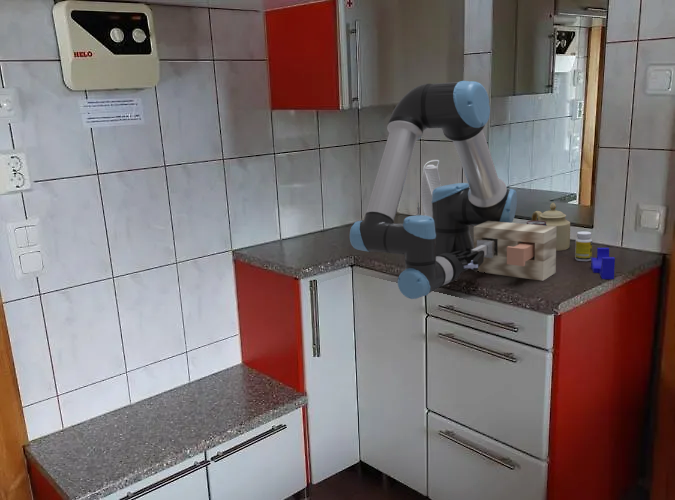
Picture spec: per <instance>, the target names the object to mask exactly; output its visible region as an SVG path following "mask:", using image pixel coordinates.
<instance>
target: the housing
mask: <svg viewBox="0 0 675 500" xmlns="http://www.w3.org/2000/svg"><path fill="white" fill-rule="evenodd" d="M556 229H557V227H556V226H544V225H532V224H527V223H518V222H512V223H508V222H496V221H486V222H484V223H481V224H479V225H476V226H475V225H473V244H474V248H476V247H477V240H478V239H480V240H485V239H487V238H492V239H498V252H497V253H495V254H494V258H487V257H484V262H483V263H482V264H481V265H480V266H479V267H478V271H479V273H484V272H485V273H486V274H492V275H498V276H507V277H513V278H520V279H529V280H535V281H542V282H544V281H545V280H547V279H548V278H549V277H552V275H555V274H556V269H557V267H556V266H557V251H556ZM523 242H531V243H535V256H534V257H533V258H531V259H529V260H527V261H526V262H525V266H518V265H510V264H507V247H508V246H511V247H515V246H517V245H519V244H521V243H523ZM485 273H484V274H485Z"/></svg>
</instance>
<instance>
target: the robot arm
mask: <svg viewBox="0 0 675 500" xmlns="http://www.w3.org/2000/svg"><path fill="white" fill-rule="evenodd" d="M490 115H491V106H490V98H489V94H488V92H487V90H486V88H485V87H484V85H483V84H482V83H480V82H479V81H471V80H469V81H468V80H461V81H453V82H438V83H437V82H436V83H424V84H420V85H417V86H416V87H413V88H412V89H411V90H409V91H408V92H407V93H406V94H405V95H403V97H402V98H401V99H400V100H399V102H397V104H396V106H395V108H394V109H393V111H392V113H391V115H390V117H389V121H388V123H387V128H386V130H387V132H388V136H387V140H386V143H385V146H384V151H383V153H382V157H381V160H380V164H379V166H378V171H377V174H376V178H375V181H374V184H373V188H372V191H371V193H370V194H371V195H370V197H369V201H368V205H367V209H366V211H365V215H364V218H363V220H357V221H354V223H353V225H352V226H351V227H350V231H349V241H350V245H351V246H352V247H353V249H355V250H358V251H363V252H369V253H371V252H372V253H373V252H375V253H387V254H388V253H389V254H395V255H404V263H405V264H404V265H405V267H404V268H405V269H404V270H402V272H400V274H399V276H398V278H397V287H398V289H399V292H400V294H402V295H403V296H404V297H406V298H408V299H411V300H417V299H419V298H420V299H421V298H422V297H425V296H428V294H430V293H431V292H434V291H436V290H439V288H441V287H443V286H445V285H447V284H450V283H452V282H453V281H455V280H457V279H458V278H459V277H460V276H461V273H462V272H466V271H468V269H471V270H472V271H474V272H477V271H478V267H479V266H480V265H481V264H482V263H483V262H484V256H485V255H487V245H481V246H479V247H476V248H474V240H473V238H472V237H471V233H470V226H476V225H479V224H481V223H484V222H486V221H496V222H508V223H514V219H515V215H516V211H517V206H518V205H517V203H518V196H517V195H518V193H517V191H516V189H513V188H509V189H508V187H507V184H506V182H504V180H502V179H501V178H499V176H498V173H497V170H496V167H495V164H494V160H493V158H492V154H491V151H490V148H489V144H488V142H487V138H486V136H485V132H484V129H485V127H486V124H487V123H488V121H489V119H490ZM427 129H441V130H442V133H443V135H444V137H445V138H446V139H447V140H448V141H451V142H452V143H453V146H454V149H455V151H456V154H457V156H458V159H459V162H460V165H461V167H462V170H463V172H464V176H465V178H466V181H467V182H458V183H451V184H445V185H441V186H440V187H437V188H435V189H434V190H433V192H432V217H430V216H425V215H422V214H421V215H419V216H417V215H410V216H406V217H405V218H404V219H403V223H397V222H396V223H394V222H395V217H396V215H397V211H398V207H399V204H400V201H401V198H402V197H401V196H402V193H403V191H404V186H405V182H406V180H407V176H408V172H409V170H410V166H411V162H412V159H413V154H414V151H415V147H416V143H417V141H419V140H421V139H422V136H423V133H424V131H425V130H427Z"/></svg>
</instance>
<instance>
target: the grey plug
mask: <svg viewBox="0 0 675 500" xmlns="http://www.w3.org/2000/svg"><path fill="white" fill-rule="evenodd" d="M481 245H487V255H485V256H484V257H487V258H494V254H495V253H497V252H498V239H492V238H487V239H485V240H480V239H478V240H477V247H479V246H481Z"/></svg>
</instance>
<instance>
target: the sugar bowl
mask: <svg viewBox="0 0 675 500" xmlns="http://www.w3.org/2000/svg"><path fill="white" fill-rule="evenodd" d="M549 208H550V210H546V211H543V212H542V211H539V210H536V211H533V213H532V215H531V221H534V220H539V221H545V222H546V225H547V226H556V227H557V229H556V252H560V251H561V252H562V251H566V250H568V249H569V248H570V241H571V221H569V220H567V219H566V217H567V214H565V213H564V212H562V211H560V210H556V209H557V206H556V203H555V202H551V203H550V205H549Z"/></svg>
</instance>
